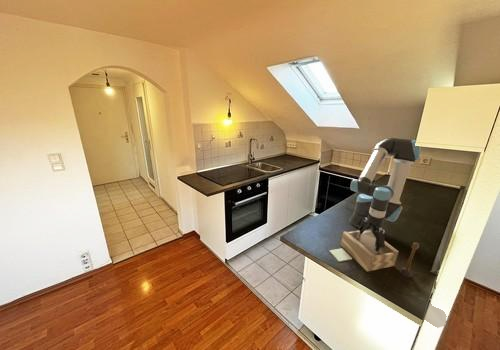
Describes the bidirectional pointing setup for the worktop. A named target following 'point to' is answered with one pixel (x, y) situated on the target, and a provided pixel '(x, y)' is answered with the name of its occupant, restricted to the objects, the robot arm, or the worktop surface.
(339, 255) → the place mat
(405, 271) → the wooden tabletop sculpture
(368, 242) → the milk carton
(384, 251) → the crate
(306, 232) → the worktop surface
